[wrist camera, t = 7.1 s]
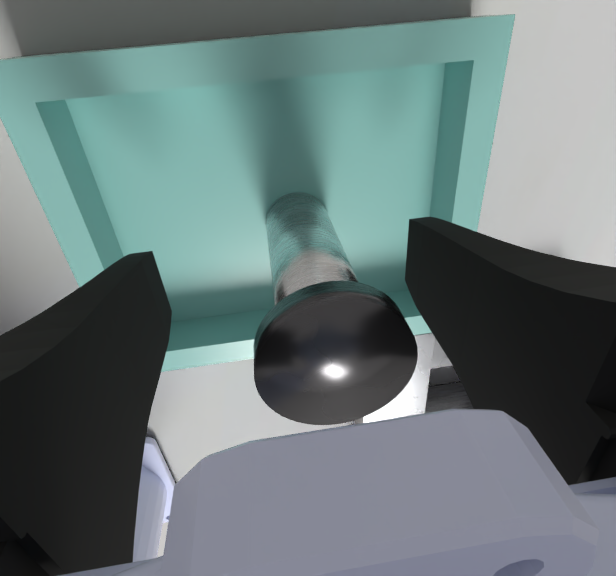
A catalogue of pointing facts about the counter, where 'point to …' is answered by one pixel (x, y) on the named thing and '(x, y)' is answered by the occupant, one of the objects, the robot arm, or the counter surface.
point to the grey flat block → (424, 387)
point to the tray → (257, 156)
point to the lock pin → (325, 325)
